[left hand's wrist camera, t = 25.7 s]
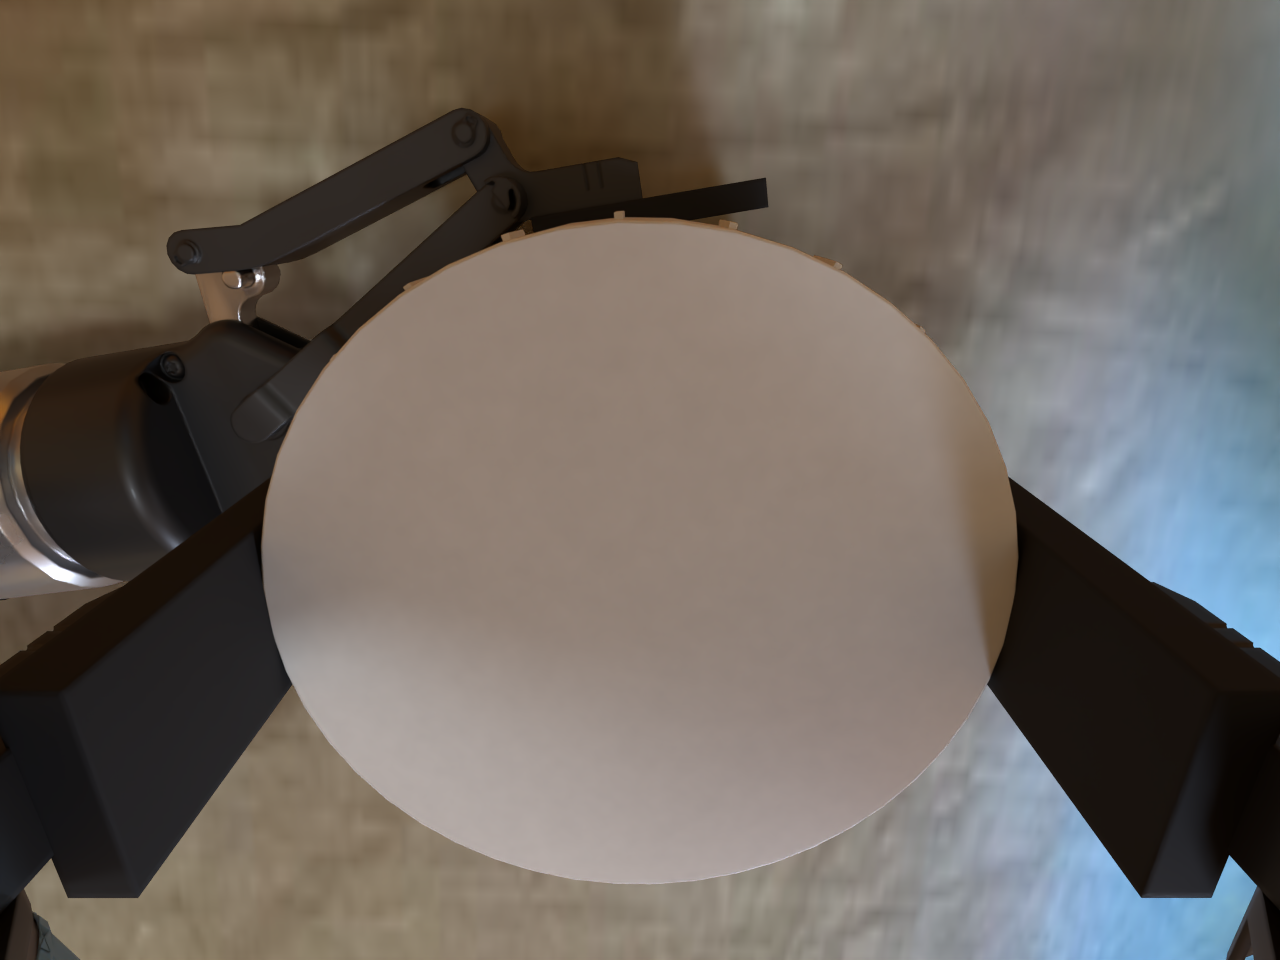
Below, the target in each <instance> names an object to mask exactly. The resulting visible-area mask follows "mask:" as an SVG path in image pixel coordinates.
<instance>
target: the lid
mask: <svg viewBox="0 0 1280 960" xmlns="http://www.w3.org/2000/svg"><path fill="white" fill-rule="evenodd" d="M737 227H738V223H735V222H731V221H726V220H720V221H719V225H712V224H706V223H700V222H693V221H687V220H681V219H675V218H641V217H625V212H624V211H617V212H614V218H610V219H602V220H593V221H585V222H577V223H570V224H566V225H562V226H558V227H555V228H551V229H547V230H544V231H540V232H536V233H532V234H529V235H525V233H524V230H518V231H514V232H509V233H506V234H503V235H501V238H502V240H503V242H500V243H498V244H495V245H493V246H491V247H488V248H486V249H484V250H481V251H479V252H477V253H474V254H472V255H470V256H467V257H465V258H463V259H460V260H458V261H456V262H453V263H451V264H448V265H447V266H445V267H443V268H442V269H440V270H438V271H437V272H435V273H434V274H432V275H430V276H428V277H425V278H422V279H419V280H416V281H413V282H410V283H408V284H407V285H405V286H404V287H403V288H404V289H405V291H404V292H402V293H401V294H399V295H398V296H397V297H396V298H395V299H393V300H392V301H391V302H390V303H389V304H387V305H386V306H385V307H384V308H383V309H381V310H380V311H379V312H378V313H377V314H375V315H374V316H373V317H372V318H371V319H369V320H368V321H367V322H366V323H365V324H363V325H362V326H361V327H360V328H359V329H358V330H357V331H356V332H355V333H354V334H353V335H352V336H351V338H350V339H349V340H348V341H347V342H346V343H345V344H344V346H343V347H342V348H341V349H340V350H339V351H338V352H337V353H336V354H334V355H333V356H332V358H331V359H330V361H329V363H328V364H327V365H326V366H325V367H324V368H323V370H322V371H321V373H320V375H319V376H318V378H317V379H316V381H315V382H314V384H313V386H312V387H311V389H310V390H309V392H308V393H307V395H306V397H305V398H304V400H303V401H302V403H301V404H300V406H299V407H298V409H297V411H296V413H295V415H294V418H293V420H292V422H291V424H290V427H289V429H288V431H287V434H286V436H285V438H284V440H283V443H282V445H281V447H280V450H279V452H278V454H277V458H276V461H275V465H274V469H273V473H272V477H271V481H270V484H269V488H268V492H267V496H266V500H265V509H264V519H263V529H262V539H261V558H262V577H263V589H264V594H265V599H266V603H267V608H268V612H269V617H270V621H271V626H272V631H273V635H274V638H275V642H276V645H277V648H278V650H279V653H280V656H281V659H282V662H283V664H284V667H285V670H286V672H287V674H288V676H289V678H290V680H291V682H292V684H293V686H294V688H295V690H296V692H297V693H298V695H299V697H300V699H301V701H302V703H303V705H304V707H305V709H306V710H307V712H308V713H309V714H310V716H311V717H312V719H313V720H314V722H315V723H316V724H317V726H318V727H319V729H320V730H321V732H322V733H323V734H324V736H325V737H326V739H327V740H328V742H329V743H330V744H331V745H332V746H333V747H334V748H335V750H336V751H337V752H338V753H339V754H340V755H341V756H342V757H343V758H344V760H345V761H346V762H347V763H348V764H349V765H350V766H351V767H352V768H353V769H354V771H355V772H356V773H357V774H358V775H360V776H361V777H362V778H363V779H364V780H365V781H366V782H367V783H369V784H370V785H371V786H372V787H373V788H374V789H375V790H377V791H378V792H379V793H380V794H381V795H382V796H383V797H385V798H386V799H387V800H388V801H390V802H391V803H392V804H394V805H395V806H397V807H398V808H400V809H401V810H403V811H404V812H405V813H407V814H408V815H410V816H411V817H413V818H414V819H415V820H417V821H418V822H420V823H421V824H423V825H425V826H427V827H428V828H430V829H432V830H434V831H436V832H438V833H439V834H441V835H443V836H445V837H447V838H449V839H450V840H452V841H454V842H456V843H458V844H460V845H463V846H465V847H467V848H470V849H472V850H475V851H477V852H479V853H482V854H484V855H486V856H489V857H491V858H494V859H496V860H500V861H503V862H506V863H509V864H513V865H516V866H519V867H522V868H526V869H529V870H532V871H536V872H541V873H546V874H551V875H556V876H561V877H565V878H570V879H577V880H586V881H596V882H605V883H616V884H660V883H673V882H685V881H696V880H702V879H707V878H713V877H718V876H724V875H729V874H735V873H739V872H742V871H746V870H749V869H753V868H757V867H760V866H764V865H767V864H771V863H774V862H777V861H780V860H782V859H785V858H787V857H790V856H792V855H795V854H797V853H800V852H803V851H805V850H808V849H810V848H813V847H815V846H817V845H819V844H821V843H823V842H824V841H826V840H828V839H830V838H832V837H834V836H836V835H838V834H840V833H842V832H844V831H846V830H848V829H850V828H851V827H853V826H854V825H856V824H857V823H859V822H860V821H862V820H863V819H865V818H866V817H868V816H869V815H871V814H873V813H874V812H876V811H877V810H879V809H880V808H882V807H883V806H884V805H886V804H887V803H888V802H889V801H890V800H892V799H893V798H894V797H895V796H897V795H898V794H899V793H900V792H901V791H903V790H904V789H905V788H906V787H907V786H909V785H910V784H911V783H912V782H913V781H915V780H916V779H917V778H918V777H919V776H920V774H921V773H922V772H923V771H924V770H925V769H926V768H927V767H928V766H929V765H930V764H931V763H932V762H933V761H934V760H935V759H936V758H937V757H938V756H939V755H940V754H941V753H942V752H943V750H944V749H945V748H946V746H947V745H948V744H949V742H950V741H951V740H952V738H953V737H954V736H955V734H956V733H957V732H958V730H959V729H960V728H961V726H962V725H963V724H964V722H965V721H966V720H967V718H968V717H969V715H970V713H971V712H972V710H973V708H974V706H975V705H976V703H977V701H978V699H979V698H980V696H981V694H982V692H983V690H984V689H985V687H986V685H987V683H988V682H989V679H990V677H991V674H992V672H993V669H994V667H995V664H996V662H997V659H998V657H999V654H1000V652H1001V649H1002V647H1003V644H1004V640H1005V636H1006V631H1007V627H1008V622H1009V618H1010V614H1011V609H1012V605H1013V601H1014V595H1015V589H1016V578H1017V568H1018V541H1017V524H1016V511H1015V506H1014V502H1013V497H1012V492H1011V488H1010V483H1009V479H1008V474H1007V469H1006V466H1005V463H1004V460H1003V458H1002V455H1001V453H1000V450H999V448H998V445H997V442H996V440H995V437H994V435H993V432H992V430H991V427H990V424H989V422H988V420H987V418H986V417H985V415H984V413H983V412H982V410H981V408H980V406H979V405H978V403H977V401H976V400H975V398H974V396H973V394H972V393H971V391H970V389H969V387H968V386H967V384H966V382H965V381H964V379H963V378H962V377H961V375H960V374H959V373H958V372H957V370H956V369H955V368H954V367H953V365H952V364H951V363H950V362H949V360H948V359H947V358H946V357H945V356H944V354H943V353H942V352H941V351H940V349H939V348H938V347H937V346H936V344H935V343H934V342H933V341H932V340H931V339H930V338H929V337H928V336H927V335H926V334H925V332H926V331H925V330H924V329H923V328H922V327H921V326H919V325H917V324H914V323H913V322H912V321H911V320H910V319H908V318H907V317H906V316H905V315H904V314H903V313H902V312H901V311H900V310H899V309H897V308H896V307H895V306H894V305H893V304H892V303H891V302H889V301H888V300H886V299H885V298H883V297H882V296H880V295H879V294H877V293H876V292H874V291H873V290H871V289H870V288H868V287H867V286H865V285H864V284H862V283H861V282H859V281H858V280H856V279H855V278H853V277H852V276H850V275H849V274H847V273H846V272H844V271H842V270H840V269H841V268H842V266H843V265H842V264H840V263H838V262H836V261H833V260H829V259H826V258H823V257H819V256H816V255H814V256H813V257H812V256H810V255H808V254H806V253H804V252H802V251H799V250H797V249H795V248H793V247H790V246H787V245H783V244H780V243H777V242H774V241H770V240H767V239H764V238H761V237H758V236H754V235H751V234H748V233H745V232H741V231H738V230H737Z"/></svg>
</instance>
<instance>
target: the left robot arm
mask: <svg viewBox="0 0 1280 960" xmlns="http://www.w3.org/2000/svg"><path fill="white" fill-rule="evenodd" d="M271 477H272V476H271ZM271 477H270V478H269V479H267V480H266V481H265V482H263V483H262V484H261V485H259V486H258V487H257V488H255V489H254V490H252V491H251V492H250V493H248V494H247V495H246V496H244V497H243V498H242V499H240V500H239V501H238V502H236V503H235V504H234V505H232V506H231V507H230V508H228V509H227V510H225V511H224V512H223V513H221V514H220V515H219V516H217V517H216V518H215V519H213V520H212V521H211V522H209V523H208V524H207V525H205V526H204V527H203V528H201V529H200V530H198V531H197V532H196V533H194V534H193V535H192V536H190V537H189V538H188V539H186V540H185V541H184V542H182V543H181V544H180V545H178V546H177V547H176V548H174V549H173V550H171V551H170V552H169V553H167V554H166V555H165V556H163V557H162V558H161V559H159V560H158V561H157V562H155V563H154V564H153V565H151V566H150V567H149V568H147V569H146V570H144V571H143V572H142V573H140V574H139V575H138V576H136V577H135V578H134V579H132V580H131V581H130V582H128V583H127V584H126V585H124V586H123V587H120V588H118V589H116V590H114V591H112V592H110V593H108V594H105V595H103V596H101V597H99V598H97V599H95V600H93V601H91V602H88V603H86V604H84V605H83V606H82V607H80V608H79V609H78V610H76V611H75V612H73V613H72V614H71V615H69V616H68V617H66V618H65V619H64V620H62V621H61V622H60V623H58V624H57V625H55V626H54V630H53V631H47V632H46V633H44V634H43V635H42V636H40V637H39V638H37V639H36V640H35V641H33V642H32V643H30V644H29V645H28V646H27V650H26V651H19V652H18V653H17V654H15V655H14V656H12V657H11V658H10V659H8V660H7V661H5V662H4V663H3V664H1V665H0V960H26V959H27V953H28V947H29V941H30V935H31V930H32V924H33V915H32V909H31V904H30V901H29V899H28V897H27V895H26V892H25V890H24V888H25V886H26V885H27V884H28V883H29V882H30V881H31V880H32V879H33V878H34V876H35V875H36V874H37V873H38V872H39V871H40V870H41V869H42V868H43V866H44V865H45V864H46V863H47V862H48V861H49V860H50V859H51V858H52V861H53V863H54V865H55V868H56V870H57V873H58V875H59V877H60V880H61V882H62V885H63V887H64V889H65V892H66V894H67V897H68V898H138V897H139V896H140V894H141V893H142V892H143V890H144V889H145V888H146V886H147V885H148V883H149V882H150V881H151V879H152V878H153V876H154V875H155V874H156V872H157V871H158V870H159V868H160V867H161V865H162V864H163V863H164V861H165V860H166V858H167V857H168V856H169V854H170V853H171V852H172V850H173V849H174V847H175V846H176V845H177V843H178V842H179V841H180V839H181V838H182V836H183V835H184V834H185V832H186V831H187V829H188V828H189V827H190V825H191V824H192V823H193V821H194V820H195V818H196V817H197V816H198V814H199V813H200V811H201V810H202V809H203V807H204V806H205V805H206V803H207V802H208V800H209V799H210V798H211V796H212V795H213V793H214V792H215V791H216V789H217V788H218V787H219V785H220V784H221V782H222V781H223V780H224V778H225V777H226V775H227V774H228V773H229V771H230V770H231V769H232V767H233V766H234V764H235V763H236V762H237V760H238V759H239V757H240V756H241V755H242V753H243V752H244V751H245V749H246V748H247V746H248V745H249V744H250V742H251V741H252V739H253V738H254V737H255V735H256V734H257V733H258V731H259V730H260V728H261V727H262V726H263V724H264V723H265V721H266V720H267V719H268V717H269V716H270V715H271V713H272V712H273V710H274V709H275V708H276V706H277V705H278V703H279V702H280V701H281V699H282V698H283V697H284V695H285V694H286V692H287V691H288V690H289V688H290V687H291V685H292V682H291V680H290V678H289V676H288V674H287V672H286V670H285V667H284V664H283V662H282V659H281V656H280V653H279V650H278V648H277V645H276V642H275V638H274V635H273V631H272V626H271V621H270V617H269V612H268V608H267V603H266V599H265V594H264V589H263V577H262V558H261V539H262V529H263V519H264V509H265V500H266V496H267V492H268V488H269V484H270V481H271ZM1008 479H1009V483H1010V488H1011V492H1012V497H1013V502H1014V506H1015V511H1016V524H1017V541H1018V568H1017V578H1016V589H1015V595H1014V601H1013V605H1012V609H1011V614H1010V618H1009V622H1008V627H1007V631H1006V636H1005V640H1004V644H1003V647H1002V649H1001V652H1000V654H999V657H998V659H997V662H996V664H995V667H994V669H993V672H992V674H991V677H990V679H989V682H988V683H987V685H988V686H989V688H990V689H991V690H992V692H993V693H994V694H995V696H996V697H997V699H998V700H999V701H1000V703H1001V704H1002V706H1003V707H1004V708H1005V710H1006V711H1007V712H1008V714H1009V715H1010V717H1011V718H1012V719H1013V721H1014V722H1015V724H1016V725H1017V726H1018V728H1019V729H1020V730H1021V732H1022V733H1023V735H1024V736H1025V737H1026V739H1027V740H1028V742H1029V743H1030V744H1031V746H1032V747H1033V748H1034V750H1035V751H1036V753H1037V754H1038V755H1039V757H1040V758H1041V760H1042V761H1043V762H1044V764H1045V765H1046V766H1047V768H1048V769H1049V771H1050V772H1051V773H1052V775H1053V776H1054V778H1055V779H1056V780H1057V782H1058V783H1059V784H1060V786H1061V787H1062V789H1063V790H1064V791H1065V793H1066V794H1067V796H1068V797H1069V798H1070V800H1071V801H1072V802H1073V804H1074V805H1075V807H1076V808H1077V809H1078V811H1079V812H1080V813H1081V815H1082V816H1083V818H1084V819H1085V820H1086V822H1087V823H1088V825H1089V826H1090V827H1091V829H1092V830H1093V831H1094V833H1095V834H1096V836H1097V837H1098V838H1099V840H1100V841H1101V843H1102V844H1103V845H1104V847H1105V848H1106V849H1107V851H1108V852H1109V854H1110V855H1111V856H1112V858H1113V859H1114V861H1115V862H1116V863H1117V865H1118V866H1119V867H1120V869H1121V870H1122V872H1123V873H1124V874H1125V876H1126V877H1127V879H1128V880H1129V881H1130V883H1131V884H1132V885H1133V887H1134V888H1135V890H1136V891H1137V892H1138V894H1139V895H1140V897H1141V898H1212V895H1213V893H1214V890H1215V888H1216V886H1217V883H1218V881H1219V878H1220V876H1221V874H1222V871H1223V869H1224V866H1225V864H1226V861H1227V859H1228V857H1229V855H1230V856H1231V857H1232V858H1233V859H1234V861H1235V862H1236V863H1237V864H1238V865H1239V866H1240V867H1241V868H1242V869H1243V871H1244V872H1245V873H1246V874H1247V875H1248V876H1249V877H1250V878H1251V879H1252V880H1253V882H1254V883H1255V884H1256V885H1257V888H1256V890H1255V892H1254V895H1253V897H1252V899H1251V901H1250V904H1249V906H1248V908H1247V910H1246V913H1245V915H1244V917H1243V919H1242V922H1241V924H1240V926H1239V928H1238V931H1237V933H1236V935H1235V937H1234V940H1233V942H1232V944H1231V946H1230V948H1229V951H1228V953H1227V959H1226V960H1245V958H1246V957H1248V956H1251V955H1253V956H1254V960H1280V662H1279V661H1278V660H1276V659H1275V658H1274V657H1272V656H1271V655H1269V654H1268V653H1267V652H1265V651H1264V650H1262V649H1261V648H1254V647H1253V642H1251V641H1250V640H1248V639H1247V638H1246V637H1244V636H1243V635H1241V634H1240V633H1239V632H1237V631H1236V630H1235V629H1233V628H1227V626H1226V625H1227V624H1226V623H1225V622H1223V621H1222V620H1221V619H1219V618H1218V617H1216V616H1215V615H1214V614H1212V613H1211V612H1209V611H1208V610H1207V609H1205V608H1204V607H1202V606H1201V605H1200V604H1198V603H1197V602H1195V601H1193V600H1191V599H1189V598H1187V597H1185V596H1183V595H1180V594H1178V593H1176V592H1174V591H1172V590H1170V589H1168V588H1165V587H1163V586H1161V585H1159V584H1157V583H1155V582H1150V581H1149V580H1147V579H1146V578H1144V577H1143V576H1142V575H1140V574H1139V573H1138V572H1136V571H1135V570H1134V569H1132V568H1131V567H1130V566H1128V565H1127V564H1126V563H1124V562H1123V561H1121V560H1120V559H1119V558H1117V557H1116V556H1115V555H1113V554H1112V553H1111V552H1109V551H1108V550H1107V549H1105V548H1104V547H1103V546H1101V545H1100V544H1099V543H1097V542H1096V541H1094V540H1093V539H1092V538H1090V537H1089V536H1088V535H1086V534H1085V533H1084V532H1082V531H1081V530H1080V529H1078V528H1077V527H1076V526H1074V525H1073V524H1072V523H1070V522H1069V521H1067V520H1066V519H1065V518H1063V517H1062V516H1061V515H1059V514H1058V513H1057V512H1055V511H1054V510H1053V509H1051V508H1050V507H1049V506H1047V505H1046V504H1045V503H1043V502H1042V501H1040V500H1039V499H1038V498H1036V497H1035V496H1034V495H1032V494H1031V493H1030V492H1028V491H1027V490H1026V489H1024V488H1023V487H1022V486H1020V485H1019V484H1018V483H1016V482H1015V481H1013V480H1012V479H1011V478H1009V477H1008Z"/></svg>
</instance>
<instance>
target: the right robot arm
mask: <svg viewBox="0 0 1280 960" xmlns="http://www.w3.org/2000/svg"><path fill="white" fill-rule="evenodd" d="M466 174H467V175H468V177H469V178H470V180H471V182H472V184H473V185H474V187H475V189H476V190H477V193H476V194H475V195H474V196H472V197H471V198H470V199H469V200H468V201H467V202H466V203H465V204H464V205H463V206H462V207H460V208H459V209H458V210H457V211H456V212H455V213H454V214H453V215H452V216H451V217H450V218H448V219H447V220H446V221H445V222H444V223H443V224H442V225H441V226H440V227H439V228H438V229H436V230H435V231H434V232H433V233H432V234H431V235H430V236H429V237H428V238H427V239H426V240H424V241H423V242H422V243H421V244H420V245H419V246H418V247H417V248H416V249H415V250H414V251H412V252H411V253H410V254H409V255H408V256H407V257H406V258H405V259H404V260H403V261H402V262H400V263H399V264H398V265H397V266H396V267H395V268H394V269H393V270H392V271H391V272H390V273H388V274H387V275H386V276H385V277H384V278H383V279H382V280H381V281H380V282H379V283H378V284H376V285H375V286H374V287H373V288H372V289H371V290H370V291H369V292H368V293H367V294H366V295H364V296H363V297H362V298H361V299H360V300H359V301H358V302H357V303H356V304H355V305H354V306H352V307H351V308H350V309H349V310H348V311H347V312H346V313H345V314H344V315H343V316H342V317H340V318H339V319H338V320H337V321H336V322H335V323H333V324H332V325H331V326H329V327H328V328H326V329H325V330H323V331H322V332H321V333H319V334H318V335H317V336H316V337H315V338H314V339H312V340H311V341H309V340H307V339H305V338H303V337H301V336H299V335H297V334H295V333H292V332H290V331H288V330H286V329H284V328H282V327H280V326H278V325H275V324H273V323H271V322H269V321H267V320H265V319H262V318H260V317H257V316H256V310H255V308H256V303H257V301H258V299H259V298H260V297H261V296H262V295H264V294H267V293H269V292H272V291H273V290H274V289H276V288H277V286H278V284H279V280H280V275H281V272H280V269H279V267H278V265H277V264H283V263H288V262H292V261H296V260H299V259H303V258H305V257H308V256H310V255H312V254H314V253H317V252H319V251H320V250H322V249H324V248H326V247H328V246H330V245H332V244H334V243H336V242H338V241H340V240H342V239H344V238H345V237H347V236H349V235H351V234H353V233H355V232H357V231H359V230H361V229H363V228H365V227H367V226H368V225H370V224H372V223H374V222H376V221H378V220H380V219H382V218H384V217H386V216H388V215H390V214H392V213H393V212H395V211H397V210H399V209H401V208H403V207H405V206H407V205H409V204H411V203H413V202H415V201H416V200H418V199H420V198H422V197H424V196H426V195H428V194H430V193H432V192H434V191H436V190H438V189H440V188H441V187H443V186H445V185H447V184H449V183H451V182H453V181H455V180H457V179H459V178H461V177H463V176H464V175H466ZM766 207H768V198H767V186H766V178H761V179H755V180H750V181H744V182H738V183H732V184H726V185H720V186H714V187H708V188H702V189H696V190H691V191H685V192H679V193H673V194H667V195H661V196H655V197H649V198H642V191H641V184H640V177H639V171H638V164H637V162H635V161H631V160H627V159H623V158H619V157H617V158H612V159H606V160H600V161H594V162H589V163H584V164H577V165H571V166H566V167H560V168H554V169H548V170H542V171H537V172H528V171H526V170H524V169H523V168H522V167H520V166H519V165H518V163H517V162H516V161H515V159H514V158H513V156H512V154H511V152H510V151H509V149H508V147H507V145H506V144H505V142H504V140H503V137H502V134H501V131H500V130H499V128H498V127H497V125H496V124H495V123H493V122H492V121H490V120H489V119H487V118H485V117H483V116H482V115H480V114H478V113H476V112H474V111H472V110H470V109H465V108H460V109H456V110H453V111H451V112H449V113H447V114H445V115H443V116H442V117H440V118H438V119H436V120H434V121H432V122H430V123H429V124H427V125H425V126H423V127H421V128H419V129H417V130H416V131H414V132H412V133H410V134H408V135H406V136H404V137H403V138H401V139H399V140H397V141H395V142H393V143H391V144H390V145H388V146H386V147H384V148H382V149H380V150H378V151H377V152H375V153H373V154H371V155H369V156H367V157H365V158H364V159H362V160H360V161H358V162H356V163H354V164H352V165H351V166H349V167H347V168H345V169H343V170H341V171H339V172H338V173H336V174H334V175H332V176H330V177H328V178H326V179H325V180H323V181H321V182H319V183H317V184H315V185H313V186H312V187H310V188H308V189H306V190H304V191H302V192H300V193H299V194H297V195H295V196H293V197H291V198H289V199H287V200H286V201H284V202H282V203H280V204H278V205H276V206H274V207H273V208H271V209H269V210H267V211H265V212H263V213H261V214H260V215H258V216H256V217H254V218H252V219H250V220H248V221H247V222H245V223H243V224H241V225H235V226H224V227H212V228H201V229H189V230H181V231H177V232H174V233H173V234H172V235H171V236H170V237H169V239H168V243H167V253H168V256H169V258H170V260H171V262H172V263H173V264H174V265H175V266H176V267H177V268H178V269H179V270H181V271H183V272H185V273H187V274H195V275H196V278H197V282H198V285H199V288H200V292H201V295H202V298H203V302H204V305H205V308H206V312H207V315H208V318H209V322H210V324H209V325H207V326H206V327H204V328H203V329H202V330H201V331H200V332H199V333H198V334H197V335H196V336H195V337H194V338H192V339H191V340H189V341H185V342H179V343H173V344H167V345H161V346H154V347H148V348H142V349H136V350H130V351H124V352H118V353H112V354H106V355H100V356H94V357H88V358H83V359H77V360H75V361H72V362H69V363H67V364H62V363H51V364H45V365H39V366H33V367H27V368H21V369H15V370H9V371H3V372H0V600H6V599H9V598H15V597H23V596H32V595H40V594H48V593H56V592H64V591H73V590H81V589H89V588H97V587H104V586H108V585H112V584H116V583H120V582H123V581H131V580H132V579H134V578H135V577H136V576H138V575H139V574H140V573H142V572H143V571H144V570H146V569H147V568H149V567H150V566H151V565H153V564H154V563H155V562H157V561H158V560H159V559H161V558H162V557H163V556H165V555H166V554H167V553H169V552H170V551H171V550H173V549H174V548H176V547H177V546H178V545H180V544H181V543H182V542H184V541H185V540H186V539H188V538H189V537H190V536H192V535H193V534H194V533H196V532H197V531H198V530H200V529H201V528H203V527H204V526H205V525H207V524H208V523H209V522H211V521H212V520H213V519H215V518H216V517H217V516H219V515H220V514H221V513H223V512H224V511H225V510H227V509H228V508H230V507H231V506H232V505H234V504H235V503H236V502H238V501H239V500H240V499H242V498H243V497H244V496H246V495H247V494H248V493H250V492H251V491H252V490H254V489H255V488H257V487H258V486H259V485H261V484H262V483H263V482H265V481H266V480H267V479H269V478H270V477H271V476H272V473H273V469H274V465H275V461H276V458H277V454H278V452H279V450H280V447H281V445H282V443H283V440H284V438H285V436H286V434H287V431H288V429H289V427H290V424H291V422H292V420H293V418H294V415H295V413H296V411H297V409H298V407H299V406H300V404H301V403H302V401H303V400H304V398H305V397H306V395H307V393H308V392H309V390H310V389H311V387H312V386H313V384H314V382H315V381H316V379H317V378H318V376H319V375H320V373H321V371H322V370H323V368H324V367H325V366H326V365H327V364H328V363H329V361H330V359H331V358H332V356H333V355H334V354H336V353H337V352H338V351H339V350H340V349H341V348H342V347H343V346H344V344H345V343H346V342H347V341H348V340H349V339H350V338H351V336H352V335H353V334H354V333H355V332H356V331H357V330H358V329H359V328H360V327H361V326H362V325H363V324H365V323H366V322H367V321H368V320H369V319H371V318H372V317H373V316H374V315H375V314H377V313H378V312H379V311H380V310H381V309H383V308H384V307H385V306H386V305H387V304H389V303H390V302H391V301H392V300H393V299H395V298H396V297H397V296H398V295H399V294H401V293H402V292H404V291H405V289H404V288H403V287H404V286H405V285H407V284H408V283H410V282H413V281H416V280H419V279H422V278H425V277H428V276H430V275H432V274H434V273H435V272H437V271H438V270H440V269H442V268H443V267H445V266H447V265H448V264H451V263H453V262H456V261H458V260H460V259H463V258H465V257H467V256H470V255H472V254H474V253H477V252H479V251H481V250H484V249H486V248H488V247H491V246H493V245H495V244H498V243H500V242H503V240H502V238H501V235H503V234H506V233H509V232H514V231H515V230H516V229H517V228H519V227H520V226H521V225H522V224H523V223H524V222H525V221H526V220H531V221H532V226H533V231H534V233H536V232H540V231H544V230H547V229H551V228H555V227H558V226H562V225H566V224H570V223H577V222H585V221H593V220H602V219H610V218H614V212H617V211H624V212H625V217H641V218H675V219H681V220H687V221H688V220H694V219H700V218H706V217H712V216H718V215H724V214H730V213H736V212H742V211H748V210H754V209H760V208H766ZM32 915H33V924H32V930H31V935H30V941H29V947H28V953H27V959H26V960H80V959H79V958H78V957H77V956H76V955H75V954H74V953H72V952H71V951H70V950H69V949H68V948H67V947H66V946H65V945H64V944H63V943H62V942H61V941H59V940H58V939H57V938H56V937H55V936H54V935H53V934H52V933H51V930H50V927H49V924H48V922H47V921H46V920H45V919H43V918H42V917H40V916H39V915H37V914H36V913H35V912H33V911H32Z"/></svg>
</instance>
